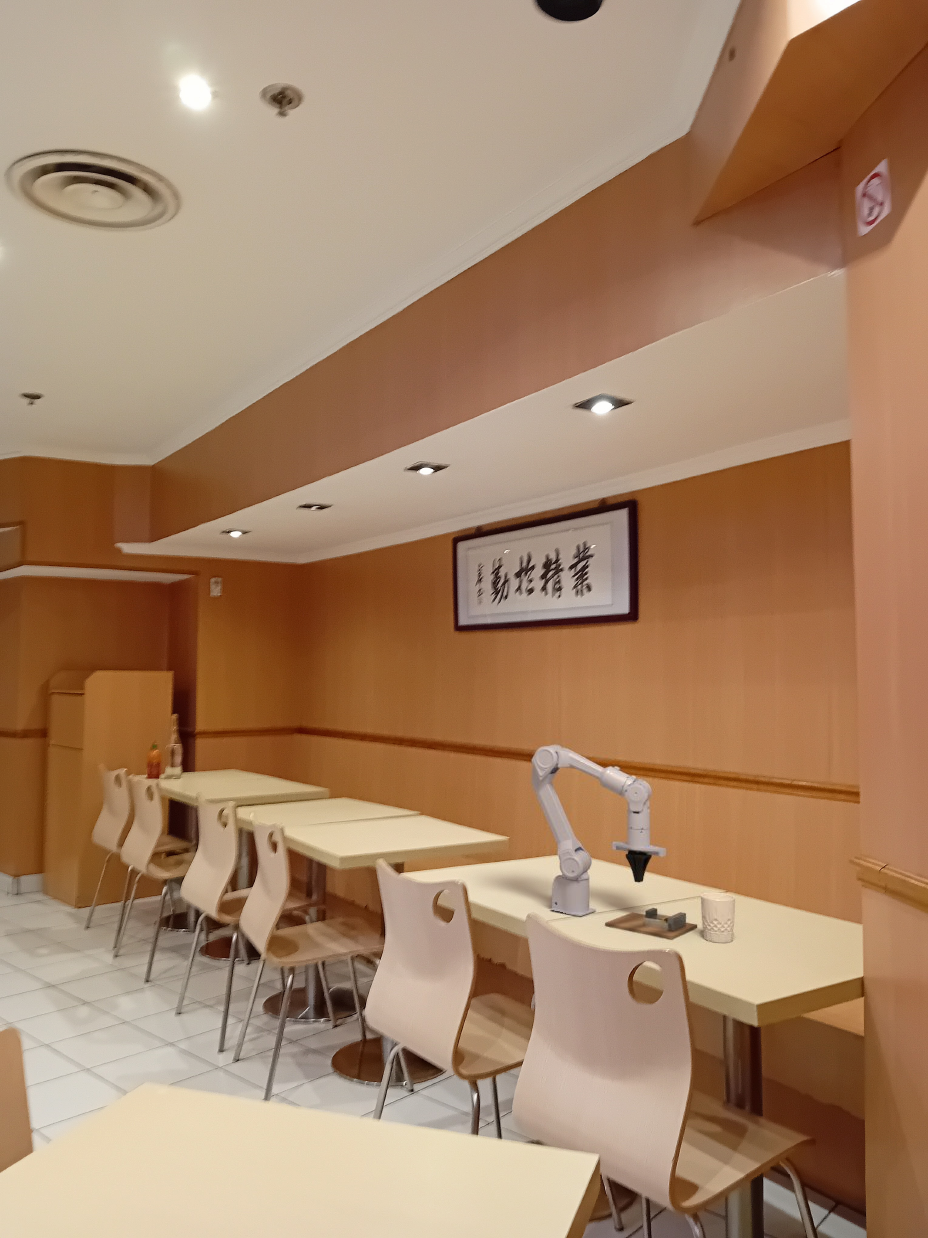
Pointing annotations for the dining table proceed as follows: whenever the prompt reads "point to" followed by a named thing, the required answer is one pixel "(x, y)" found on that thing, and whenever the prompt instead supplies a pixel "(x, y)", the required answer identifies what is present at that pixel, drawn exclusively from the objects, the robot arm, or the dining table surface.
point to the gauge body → (667, 922)
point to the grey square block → (655, 915)
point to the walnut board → (637, 924)
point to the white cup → (718, 917)
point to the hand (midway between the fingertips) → (638, 881)
